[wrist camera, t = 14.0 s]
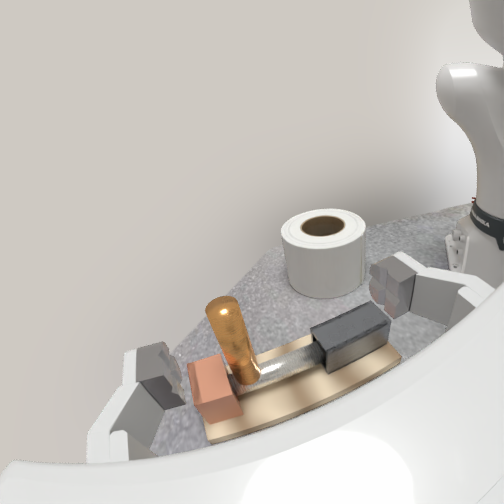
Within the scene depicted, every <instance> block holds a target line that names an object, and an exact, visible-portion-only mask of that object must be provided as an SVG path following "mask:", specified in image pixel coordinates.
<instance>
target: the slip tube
mask: <svg viewBox="0 0 504 504" xmlns="http://www.w3.org/2000/svg"><path fill="white" fill-rule="evenodd" d="M205 311H206V314H207V317H208V319H209V322H210V324H211V326H212V329H213V331H214V333H215V335H216V338H217V340H218V342H219V345H220V347H221V349H222V351H223V353H224V356H225V358H226V360H227V362H228V364H229V367H230V369H231V371H232V374H229V375H228V378H229V382H230V385H231V388H232V390H233V392H234V394H235V396H239V395H242V394H245V393H248V392H251V391H253V390H256V389H259V388H262V387H264V386H267V385H270V384H273V383H275V382H278V381H280V380H283V379H285V378H288V377H290V376H293V375H295V374H298V373H300V372H302V371H305V370H307V369H309V368H312V367H314V366H316V365H318V364H321V363H323V362H325V361H326V352H325V351H324V350H323V348H322V347H321V345H320V344H319V342H318V341H315V342H313V343H310V344H308V345H306V346H303V347H301V348H299V349H296V350H294V351H291V352H289V353H286V354H284V355H281V356H279V357H276V358H273V359H271V360H268V361H266V362H263V363H260V364H258V362H257V359H256V356H255V353H254V350H253V347H252V344H251V341H250V338H249V335H248V332H247V329H246V326H245V323H244V320H243V317H242V314H241V311H240V308H239V304H238V301H237V300H236V299H235V298H234V297H231V296H222V297H218V298H216V299H214V300H212V301H211V302H210V303H209V304H208V305H207V306H206V309H205Z"/></svg>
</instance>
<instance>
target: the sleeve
mask: <svg viewBox="0 0 504 504" xmlns="http://www.w3.org/2000/svg"><path fill="white" fill-rule="evenodd" d="M390 325H391V320H390V319H389V318H388V317H387V316H386V315H385V314H384V313H383V312H382V311H381V310H380V309H379V308H378V307H377V306H376V305H375V304H374V303H373V302H372V301H369V302H367V303H365V304H362V305H360V306H358V307H356V308H354V309H352V310H350V311H348V312H346V313H343V314H341V315H339V316H337V317H335V318H332V319H330V320H328V321H326V322H323V323H321V324H319V325H316V326H314V327H312V328H310V330H311V340H312V343H313V342H315V341H318V342H319V344H320V345H321V347H322V348H323V350H324V351H325V352H326V361H325V362H323V363H321V365H322V366H323V368H324V369H325V371H326V373H327V374H328V375H329V374H331V373H333V372H335V371H337V370H339V369H341V368H343V367H345V366H347V365H349V364H351V363H353V362H355V361H357V360H359V359H361V358H363V357H365V356H366V355H368V354H370V353H372V352H374V351H376V350H377V349H379V348H381V347H383V346H384V345H386V344H387V341H388V336H389V331H390Z"/></svg>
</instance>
